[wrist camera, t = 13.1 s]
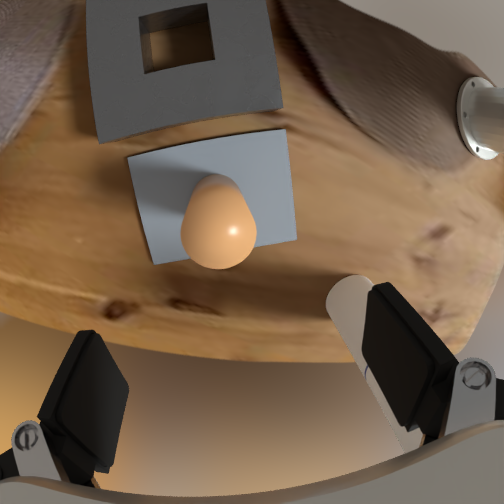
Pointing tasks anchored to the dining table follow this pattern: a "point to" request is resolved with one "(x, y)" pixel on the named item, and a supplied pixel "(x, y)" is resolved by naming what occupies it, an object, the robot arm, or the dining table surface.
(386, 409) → the cylindrical container
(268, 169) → the mat
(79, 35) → the dining table surface
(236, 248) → the orange rounded cylinder
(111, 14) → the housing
